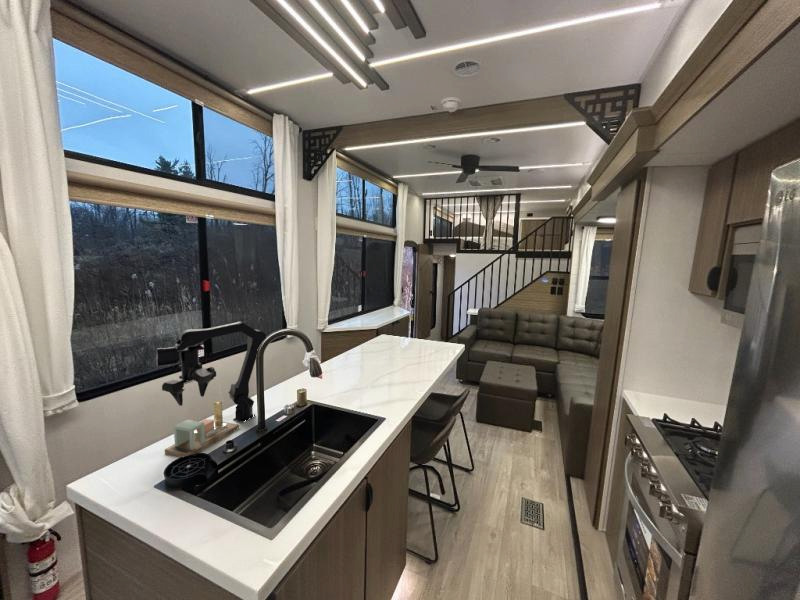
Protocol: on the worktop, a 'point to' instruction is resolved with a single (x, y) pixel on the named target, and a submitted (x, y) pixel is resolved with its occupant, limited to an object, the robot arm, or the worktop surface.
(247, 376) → the robot arm
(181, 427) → the tunnel
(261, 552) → the worktop surface
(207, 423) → the terracotta block
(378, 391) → the worktop surface
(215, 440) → the track board
